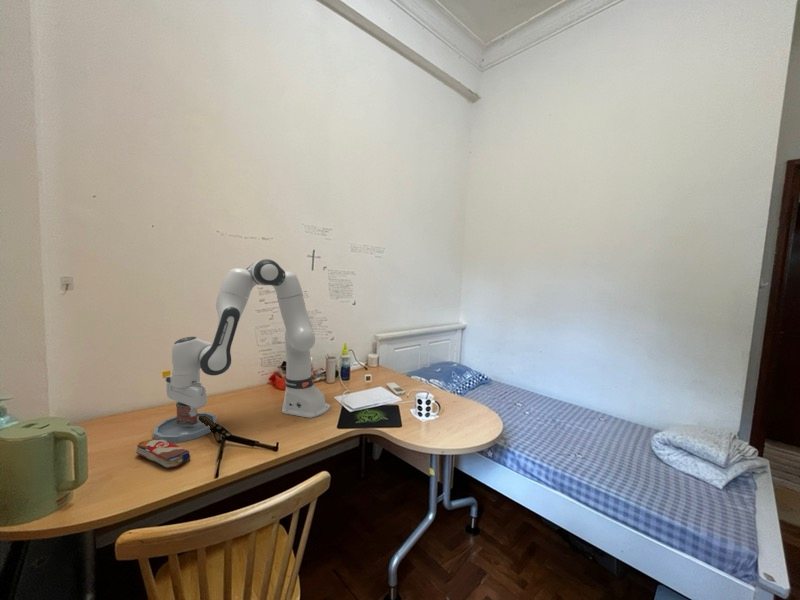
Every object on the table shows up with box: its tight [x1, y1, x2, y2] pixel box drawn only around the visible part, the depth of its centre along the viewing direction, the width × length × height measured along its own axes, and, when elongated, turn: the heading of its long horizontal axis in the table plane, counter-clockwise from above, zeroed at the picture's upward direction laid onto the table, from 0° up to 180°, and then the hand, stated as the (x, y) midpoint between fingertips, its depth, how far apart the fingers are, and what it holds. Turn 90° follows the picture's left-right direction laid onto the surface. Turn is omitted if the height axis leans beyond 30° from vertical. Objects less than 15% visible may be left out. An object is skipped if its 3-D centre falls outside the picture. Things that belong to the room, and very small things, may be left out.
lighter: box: [175, 403, 198, 425], centre depth 119 cm, size 8×3×10 cm, turn 85°
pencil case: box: [135, 439, 191, 468], centre depth 101 cm, size 11×20×5 cm, turn 53°
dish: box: [152, 411, 218, 444], centre depth 120 cm, size 20×20×2 cm
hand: (186, 413), depth 120 cm, fingers closed on lighter, 6 cm apart
